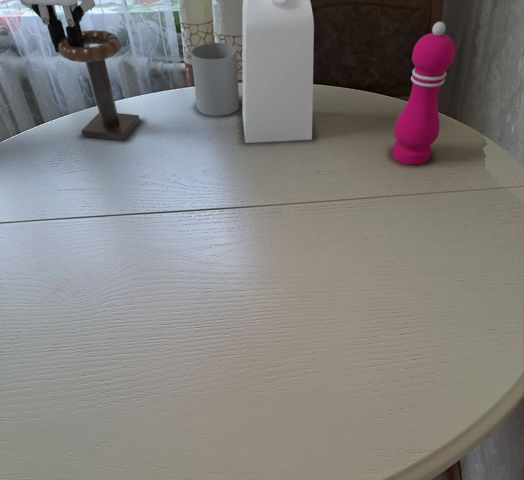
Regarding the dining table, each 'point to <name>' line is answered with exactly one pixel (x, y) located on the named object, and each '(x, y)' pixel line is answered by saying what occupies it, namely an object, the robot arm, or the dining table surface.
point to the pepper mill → (423, 98)
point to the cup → (216, 78)
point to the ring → (91, 53)
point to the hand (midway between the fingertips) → (70, 49)
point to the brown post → (106, 108)
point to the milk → (277, 70)
